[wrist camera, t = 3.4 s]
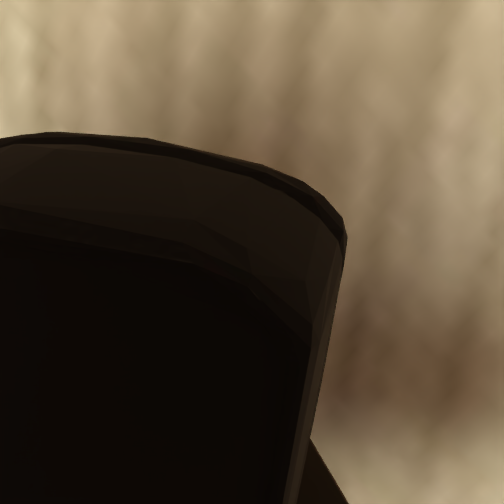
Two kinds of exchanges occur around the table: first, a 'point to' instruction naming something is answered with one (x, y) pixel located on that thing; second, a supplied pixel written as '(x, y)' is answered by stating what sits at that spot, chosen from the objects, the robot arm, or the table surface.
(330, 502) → the robot arm
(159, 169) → the controller
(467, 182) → the table surface
